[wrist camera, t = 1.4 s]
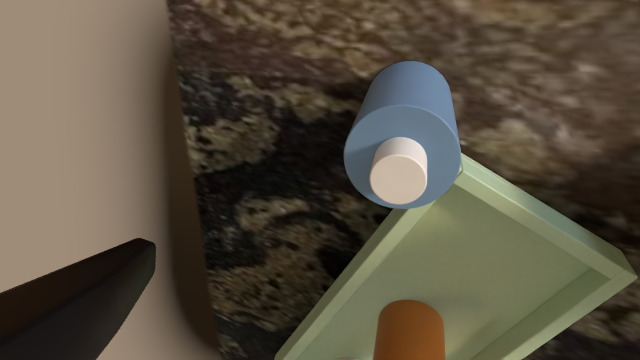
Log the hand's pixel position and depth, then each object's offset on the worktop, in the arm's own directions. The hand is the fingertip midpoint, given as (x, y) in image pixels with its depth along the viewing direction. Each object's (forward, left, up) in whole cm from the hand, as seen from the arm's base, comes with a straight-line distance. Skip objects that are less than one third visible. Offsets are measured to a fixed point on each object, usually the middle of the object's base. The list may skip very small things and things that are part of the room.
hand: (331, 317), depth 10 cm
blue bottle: (0, -2, -13) cm, 13 cm away
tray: (-8, +9, -13) cm, 18 cm away
